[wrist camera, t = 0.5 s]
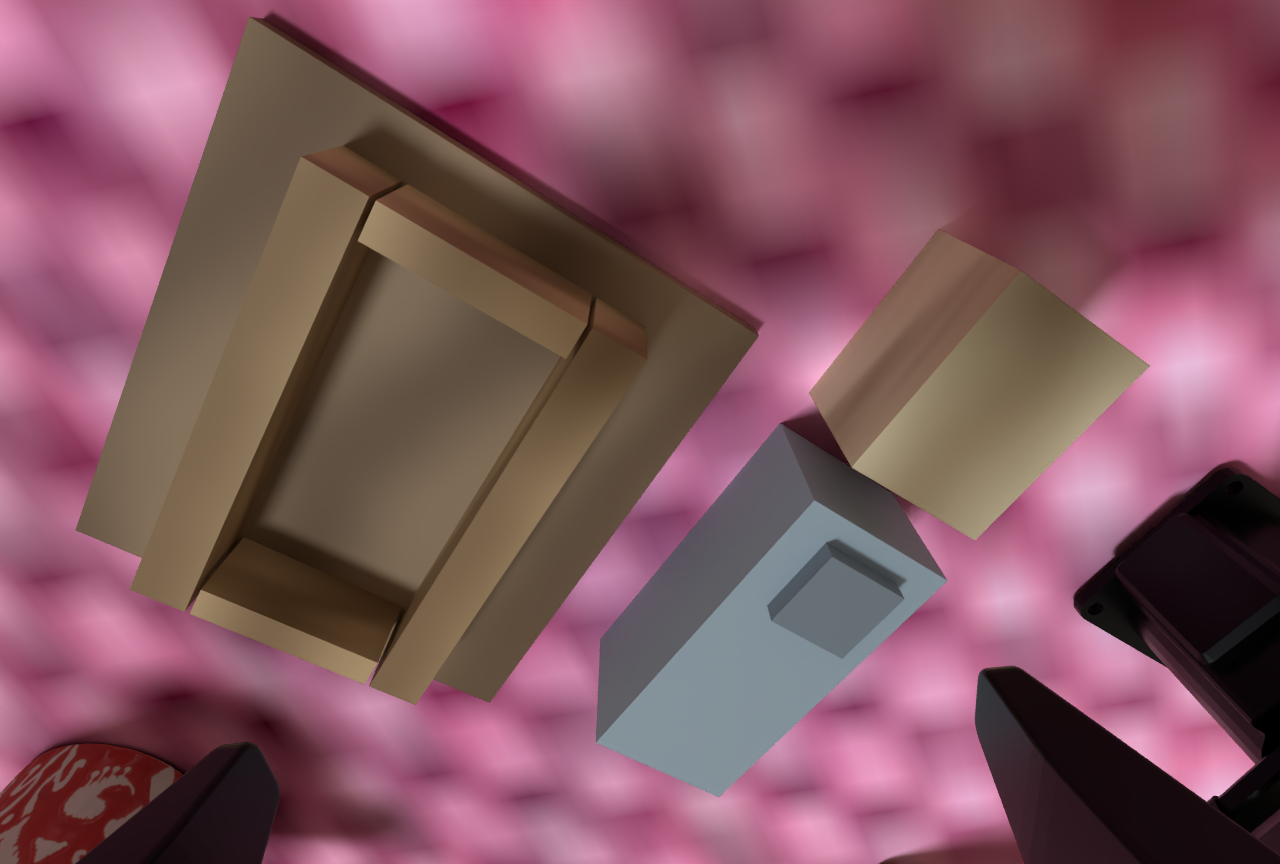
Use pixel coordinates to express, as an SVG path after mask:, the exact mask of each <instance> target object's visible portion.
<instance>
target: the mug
mask: <svg viewBox="0 0 1280 864" xmlns="http://www.w3.org/2000/svg"><path fill="white" fill-rule="evenodd" d="M182 775H183V774H182V773H180V772H179V771H177V770H176V769H174V768H173V767H171V766H170V765H168V764H166V763H164V762H162V761H160V760H158V759H156V758H154V757H151V756H149V755H146V754H144V753H141V752H138V751H135V750H132V749H128V748H123V747H118V746H112V745H105V744H76V745H68V746H63V747H59V748H55V749H52V750H50V751H48V752H46V753H44V754H42V755H40V756H39V757H37V758H36V759H34V760H33V761H32V762H31V763H30V764H28V765H27V766H26V767H25V768H24V769H23V770H22V771H21V772H20V773H19V774H18V775H17V776H16V777H15V778H14V779H13V780H12V781H11V782H10V783H9V784H8V785H7V786H6V787H5V788H4V790H3V791H2V792H1V793H0V864H75V863H76V862H77V861H79V860H80V859H81V858H82V857H84V856H85V855H86V854H87V853H88V852H90V851H91V850H92V849H93V848H95V847H96V846H97V845H98V844H99V843H101V842H102V841H103V840H104V839H105V838H107V837H108V836H109V835H110V834H112V833H113V832H114V831H115V830H116V829H118V828H119V827H120V826H121V825H123V824H124V823H125V822H126V821H127V820H129V819H130V818H131V817H132V816H134V815H135V814H136V813H137V812H138V811H140V810H141V809H142V808H143V807H145V806H146V805H147V804H148V803H149V802H151V801H152V800H153V799H154V798H155V797H157V796H158V795H159V794H160V793H162V792H163V791H164V790H165V789H166V788H168V787H169V786H170V785H171V784H173V783H174V782H175V781H176V780H177V779H179V778H180V777H181V776H182Z"/></svg>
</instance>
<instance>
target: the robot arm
mask: <svg viewBox="0 0 1280 864" xmlns="http://www.w3.org/2000/svg"><path fill="white" fill-rule="evenodd" d="M1231 483H1232V484H1231ZM1229 484H1231V485H1230V486H1228V485H1229ZM1093 604H1094V605H1093ZM1091 605H1092V606H1091ZM1074 608H1075V609H1076V610H1077V612H1078V613H1079V614H1080V615H1081V616H1082V617H1083V618H1084V619H1085V620H1087V621H1089V622H1090V623H1092V624H1094V625H1095V626H1097V627H1099V628H1101V629H1102V630H1104V631H1106V632H1107V633H1109V634H1111V635H1112V636H1114V637H1116V638H1118V639H1119V640H1121V641H1123V642H1124V643H1126V644H1128V645H1130V646H1131V647H1133V648H1135V649H1136V650H1138V651H1140V652H1141V653H1143V654H1145V655H1147V656H1148V657H1150V658H1152V659H1153V660H1155V661H1157V662H1159V663H1160V664H1162V665H1164V666H1165V667H1167V668H1168V669H1169V670H1170V671H1171V672H1172V673H1173V674H1174V675H1175V676H1176V678H1177V679H1178V680H1179V681H1180V682H1181V683H1182V684H1183V685H1184V686H1185V687H1186V689H1187V690H1188V691H1189V692H1190V693H1191V694H1192V695H1193V696H1194V697H1195V698H1196V700H1197V701H1198V702H1199V703H1200V704H1201V705H1202V706H1203V707H1204V708H1205V709H1206V711H1207V712H1208V713H1209V714H1210V715H1211V716H1212V717H1213V718H1214V719H1215V720H1216V722H1217V723H1218V724H1219V725H1220V726H1221V727H1222V728H1223V729H1224V730H1225V731H1226V733H1227V734H1228V735H1229V736H1230V737H1231V738H1232V739H1233V740H1234V741H1235V742H1236V744H1237V745H1238V746H1239V747H1240V748H1241V749H1242V750H1243V751H1244V752H1245V753H1246V755H1247V756H1248V757H1249V758H1250V759H1251V760H1252V761H1253V762H1254V763H1255V764H1256V765H1254V766H1253V767H1252V768H1251V769H1250V770H1249V771H1248V772H1246V773H1245V774H1244V775H1243V776H1242V777H1241V778H1240V779H1239V780H1237V781H1236V782H1235V783H1234V784H1233V785H1232V786H1231V787H1229V788H1228V789H1227V790H1226V791H1225V792H1224V793H1223V794H1222V795H1220V796H1219V797H1218V796H1213V797H1212V798H1211V799H1210V800H1209V801H1207V802H1206V801H1205V800H1203V799H1202V798H1201V797H1199V796H1198V795H1197V794H1195V793H1194V792H1192V791H1191V790H1190V789H1188V788H1187V787H1185V786H1184V785H1183V784H1181V783H1180V782H1178V781H1177V780H1176V779H1174V778H1173V777H1172V776H1170V775H1169V774H1167V773H1166V772H1165V771H1163V770H1162V769H1160V768H1159V767H1158V766H1156V765H1155V764H1153V763H1152V762H1151V761H1149V760H1148V759H1147V758H1145V757H1144V756H1142V755H1141V754H1140V753H1138V752H1137V751H1135V750H1134V749H1133V748H1131V747H1130V746H1128V745H1127V744H1126V743H1124V742H1123V741H1121V740H1120V739H1119V738H1117V737H1116V736H1115V735H1113V734H1112V733H1110V732H1109V731H1108V730H1106V729H1105V728H1103V727H1102V726H1101V725H1099V724H1098V723H1096V722H1095V721H1094V720H1092V719H1091V718H1090V717H1088V716H1087V715H1085V714H1084V713H1083V712H1081V711H1080V710H1078V709H1077V708H1076V707H1074V706H1073V705H1071V704H1070V703H1069V702H1067V701H1066V700H1065V699H1063V698H1062V697H1060V696H1059V695H1058V694H1056V693H1055V692H1053V691H1052V690H1051V689H1049V688H1048V687H1046V686H1045V685H1044V684H1042V683H1041V682H1039V681H1038V680H1037V679H1035V678H1034V677H1033V676H1031V675H1030V674H1028V673H1027V672H1026V671H1024V670H1023V669H1021V668H1019V667H1016V666H1003V667H993V668H985V669H983V670H982V671H981V672H980V673H979V676H978V685H977V697H976V710H975V725H976V731H977V735H978V738H979V741H980V744H981V747H982V749H983V752H984V755H985V758H986V760H987V763H988V766H989V768H990V771H991V774H992V777H993V779H994V782H995V785H996V788H997V790H998V793H999V796H1000V798H1001V801H1002V804H1003V807H1004V809H1005V812H1006V815H1007V818H1008V820H1009V823H1010V826H1011V829H1012V831H1013V834H1014V837H1015V839H1016V842H1017V845H1018V848H1019V850H1020V853H1021V855H1022V858H1023V861H1024V863H1025V864H1280V498H1278V497H1277V496H1275V495H1274V494H1273V493H1271V492H1270V491H1268V490H1267V489H1266V488H1264V487H1263V486H1261V485H1260V484H1259V483H1257V482H1256V481H1255V480H1253V479H1252V478H1250V477H1249V476H1247V475H1246V474H1244V473H1243V472H1241V471H1240V470H1238V469H1235V468H1225V469H1222V470H1220V471H1218V472H1217V473H1216V474H1214V475H1213V476H1212V477H1211V478H1210V479H1209V480H1207V481H1206V482H1205V483H1204V484H1203V485H1202V486H1201V487H1199V488H1198V489H1197V490H1196V491H1195V492H1194V493H1193V494H1192V495H1190V496H1189V497H1188V498H1187V499H1186V500H1185V501H1184V502H1183V503H1181V504H1180V505H1179V506H1178V507H1177V508H1176V509H1175V510H1174V511H1172V512H1171V513H1170V514H1169V515H1168V516H1167V517H1166V518H1165V519H1163V520H1162V521H1161V522H1160V523H1159V524H1158V525H1157V526H1156V527H1154V528H1153V529H1152V530H1151V531H1150V532H1149V533H1148V534H1147V535H1145V536H1144V537H1143V538H1142V539H1141V540H1140V541H1139V542H1138V543H1136V544H1135V545H1134V546H1133V547H1132V548H1131V549H1130V550H1129V551H1127V552H1126V553H1125V554H1124V555H1123V556H1122V557H1121V558H1120V559H1118V560H1117V561H1116V562H1115V563H1114V564H1113V565H1112V566H1111V567H1109V568H1108V569H1107V570H1106V571H1105V572H1104V573H1103V574H1102V575H1100V576H1099V577H1098V578H1097V579H1096V580H1095V581H1094V582H1093V583H1091V584H1090V585H1089V586H1088V587H1087V588H1086V589H1085V590H1084V591H1082V592H1081V593H1080V594H1079V595H1078V596H1077V597H1076V599H1075V601H1074ZM279 797H280V792H279V785H278V782H277V780H276V778H275V776H274V775H273V773H272V771H271V769H270V767H269V765H268V763H267V762H266V760H265V758H264V756H263V754H262V752H261V750H260V749H259V747H258V746H257V745H255V744H254V743H252V742H243V743H233V744H225V745H222V746H219V747H217V748H216V749H214V750H213V751H212V752H210V753H209V754H208V755H207V756H205V757H204V758H203V759H202V760H201V761H199V762H198V763H197V764H196V765H194V766H193V767H192V768H191V769H190V770H188V771H187V772H186V773H185V774H184V775H182V776H181V777H180V778H179V779H177V780H176V781H175V782H174V783H173V784H171V785H170V786H169V787H168V788H166V789H165V790H164V791H163V792H162V793H160V794H159V795H158V796H157V797H155V798H154V799H153V800H152V801H151V802H149V803H148V804H147V805H146V806H145V807H143V808H142V809H141V810H140V811H138V812H137V813H136V814H135V815H134V816H132V817H131V818H130V819H129V820H127V821H126V822H125V823H124V824H123V825H121V826H120V827H119V828H118V829H116V830H115V831H114V832H113V833H112V834H110V835H109V836H108V837H107V838H105V839H104V840H103V841H102V842H101V843H99V844H98V845H97V846H96V847H95V848H93V849H92V850H91V851H90V852H88V853H87V854H86V855H85V856H84V857H82V858H81V859H80V860H79V861H77V862H76V863H75V864H262V860H263V857H264V853H265V850H266V847H267V843H268V840H269V836H270V833H271V829H272V826H273V822H274V819H275V815H276V812H277V808H278V804H279Z"/></svg>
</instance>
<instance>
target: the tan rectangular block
mask: <svg viewBox="0 0 1280 864" xmlns="http://www.w3.org/2000/svg"><path fill="white" fill-rule="evenodd" d="M1149 366H1150V365H1149V364H1147V363H1146V362H1144V361H1143V360H1142V359H1140V358H1139V357H1138V356H1136V355H1135V354H1134V353H1132V352H1131V351H1130V350H1128V349H1127V348H1126V347H1124V346H1123V345H1121V344H1120V343H1119V342H1117V341H1116V340H1115V339H1113V338H1112V337H1111V336H1109V335H1108V334H1107V333H1105V332H1104V331H1103V330H1101V329H1100V328H1098V327H1097V326H1096V325H1094V324H1093V323H1092V322H1090V321H1089V320H1088V319H1086V318H1085V317H1084V316H1082V315H1081V314H1080V313H1078V312H1077V311H1075V310H1074V309H1073V308H1071V307H1070V306H1069V305H1067V304H1066V303H1065V302H1063V301H1062V300H1061V299H1059V298H1058V297H1057V296H1055V295H1054V294H1052V293H1051V292H1050V291H1048V290H1047V289H1046V288H1044V287H1043V286H1042V285H1040V284H1039V283H1038V282H1036V281H1035V280H1034V279H1032V278H1031V277H1029V276H1028V275H1027V274H1025V273H1024V272H1023V271H1021V270H1019V269H1017V268H1015V267H1013V266H1011V265H1009V264H1007V263H1005V262H1003V261H1001V260H999V259H997V258H995V257H993V256H991V255H989V254H987V253H985V252H983V251H981V250H979V249H977V248H975V247H973V246H971V245H969V244H967V243H965V242H963V241H961V240H959V239H957V238H955V237H953V236H951V235H949V234H947V233H945V232H943V231H941V230H939V229H938V231H937V232H936V233H935V234H934V236H933V237H932V238H931V239H930V241H929V242H928V243H927V245H926V246H925V247H924V248H923V250H922V251H921V252H920V253H919V255H918V256H917V257H916V258H915V260H914V261H913V262H912V263H911V265H910V266H909V267H908V268H907V270H906V271H905V272H904V273H903V275H902V276H901V277H900V279H899V280H898V281H897V282H896V284H895V285H894V286H893V287H892V289H891V290H890V291H889V292H888V294H887V295H886V296H885V297H884V299H883V300H882V301H881V302H880V304H879V305H878V306H877V307H876V309H875V310H874V311H873V312H872V314H871V315H870V316H869V318H868V319H867V320H866V321H865V323H864V324H863V325H862V326H861V328H860V329H859V330H858V331H857V333H856V334H855V335H854V336H853V338H852V339H851V340H850V341H849V343H848V344H847V345H846V346H845V348H844V349H843V350H842V352H841V353H840V354H839V355H838V357H837V358H836V359H835V360H834V362H833V363H832V364H831V365H830V367H829V368H828V369H827V370H826V372H825V373H824V374H823V375H822V377H821V378H820V379H819V380H818V382H817V383H816V384H815V386H814V387H813V388H812V389H811V391H810V392H809V394H810V396H811V397H812V399H813V401H814V403H815V404H816V406H817V408H818V410H819V411H820V413H821V415H822V417H823V418H824V420H825V422H826V424H827V425H828V427H829V429H830V431H831V432H832V434H833V436H834V438H835V439H836V441H837V443H838V445H839V446H840V448H841V450H842V452H843V453H844V455H845V457H846V459H847V460H848V462H849V464H850V466H851V467H852V468H853V469H855V470H857V471H858V472H860V473H862V474H864V475H865V476H867V477H869V478H870V479H872V480H874V481H875V482H877V483H879V484H880V485H882V486H884V487H885V488H887V489H889V490H891V491H892V492H894V493H896V494H897V495H899V496H901V497H902V498H904V499H906V500H907V501H909V502H911V503H913V504H914V505H916V506H918V507H919V508H921V509H923V510H924V511H926V512H928V513H929V514H931V515H933V516H934V517H936V518H938V519H940V520H941V521H943V522H945V523H946V524H948V525H950V526H951V527H953V528H955V529H956V530H958V531H960V532H962V533H963V534H965V535H967V536H968V537H970V538H972V539H973V540H976V539H977V538H978V537H979V536H980V535H981V534H982V533H983V532H984V531H985V530H986V529H987V528H988V527H989V526H990V525H991V524H992V523H993V522H994V521H995V520H996V519H997V518H998V517H999V516H1000V515H1001V514H1002V513H1003V512H1004V511H1005V510H1006V509H1007V508H1008V507H1009V506H1010V505H1011V504H1012V503H1013V502H1014V501H1015V500H1016V499H1017V498H1018V497H1019V496H1020V495H1021V494H1022V493H1023V492H1024V491H1025V490H1026V489H1027V488H1028V487H1029V486H1030V485H1031V484H1032V483H1033V482H1034V481H1035V480H1036V479H1037V478H1038V477H1039V476H1040V475H1041V474H1042V473H1043V472H1044V471H1045V470H1046V469H1047V468H1048V467H1049V466H1050V465H1051V464H1052V463H1053V462H1054V461H1055V460H1056V459H1057V458H1058V457H1059V456H1060V455H1061V454H1062V453H1063V452H1064V451H1065V450H1066V449H1067V448H1068V447H1069V446H1070V445H1071V444H1072V443H1073V442H1074V441H1075V440H1076V439H1077V438H1078V437H1079V436H1080V435H1081V434H1082V433H1083V432H1084V431H1085V430H1086V429H1087V428H1088V427H1089V426H1090V425H1091V424H1092V423H1093V422H1094V421H1095V420H1096V419H1097V418H1098V417H1099V416H1100V415H1101V414H1102V413H1103V412H1104V411H1105V410H1106V409H1107V408H1108V407H1109V406H1110V405H1111V404H1112V403H1113V402H1114V401H1115V400H1116V399H1117V398H1118V397H1119V396H1120V395H1121V394H1122V393H1123V392H1124V391H1125V390H1126V389H1127V388H1128V387H1129V386H1130V385H1131V384H1132V383H1133V382H1134V381H1135V380H1136V379H1137V378H1138V377H1139V376H1140V375H1141V374H1142V373H1143V372H1144V371H1145V370H1146V369H1147V368H1148V367H1149Z"/></svg>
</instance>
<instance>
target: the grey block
mask: <svg viewBox="0 0 1280 864" xmlns="http://www.w3.org/2000/svg"><path fill="white" fill-rule="evenodd" d="M946 582H947V579H946V577H945V576H944V574H943V573H942V571H941V570H940V568H939V566H938V565H937V563H936V562H935V560H934V558H933V557H932V555H931V554H930V552H929V551H928V549H927V547H926V546H925V544H924V543H923V541H922V540H921V538H920V536H919V535H918V533H917V532H916V530H915V528H914V527H913V525H912V524H911V522H910V521H909V519H908V517H907V516H906V514H905V513H904V511H903V510H902V508H901V506H900V505H899V503H898V502H897V500H896V498H895V497H894V495H893V494H892V493H891V492H889V491H887V490H886V489H884V488H883V487H881V486H880V485H878V484H876V483H875V482H873V481H872V480H870V479H868V478H867V477H865V476H864V475H862V474H861V473H859V472H857V471H856V470H854V469H853V468H851V467H849V466H848V465H846V464H845V463H843V462H841V461H840V460H838V459H837V458H835V457H834V456H832V455H830V454H829V453H827V452H826V451H824V450H822V449H821V448H819V447H818V446H816V445H815V444H813V443H811V442H810V441H808V440H807V439H805V438H803V437H802V436H800V435H799V434H797V433H796V432H794V431H792V430H791V429H789V428H788V427H786V426H784V425H783V424H781V423H780V424H779V425H778V426H777V428H776V429H775V430H774V431H773V432H772V434H771V435H770V436H769V437H768V438H767V440H766V441H765V442H764V443H763V444H762V446H761V447H760V448H759V449H758V450H757V452H756V453H755V454H754V455H753V456H752V458H751V459H750V460H749V461H748V462H747V464H746V465H745V466H744V467H743V468H742V470H741V471H740V472H739V473H738V474H737V476H736V477H735V478H734V479H733V481H732V482H731V483H730V484H729V485H728V487H727V488H726V489H725V490H724V491H723V493H722V494H721V495H720V496H719V497H718V499H717V500H716V501H715V502H714V503H713V505H712V506H711V507H710V508H709V509H708V511H707V512H706V513H705V514H704V515H703V517H702V518H701V519H700V520H699V521H698V523H697V524H696V525H695V526H694V527H693V529H692V530H691V531H690V532H689V533H688V535H687V536H686V537H685V538H684V539H683V541H682V542H681V543H680V544H679V545H678V547H677V548H676V549H675V550H674V551H673V553H672V554H671V555H670V556H669V557H668V559H667V560H666V561H665V562H664V563H663V565H662V566H661V567H660V568H659V569H658V571H657V572H656V573H655V574H654V575H653V577H652V578H651V579H650V580H649V581H648V583H647V584H646V585H645V586H644V587H643V589H642V590H641V591H640V592H639V593H638V595H637V596H636V597H635V598H634V599H633V601H632V602H631V603H630V604H629V605H628V607H627V608H626V609H625V610H624V611H623V613H622V614H621V615H620V616H619V617H618V619H617V620H616V621H615V622H614V624H613V625H612V626H611V627H610V628H609V630H608V631H607V632H606V633H605V634H604V636H603V637H602V638H601V639H600V662H599V684H598V707H597V729H596V743H598V744H600V745H602V746H604V747H607V748H609V749H611V750H613V751H616V752H618V753H620V754H622V755H625V756H627V757H629V758H632V759H634V760H636V761H638V762H641V763H643V764H645V765H647V766H650V767H652V768H654V769H656V770H659V771H661V772H663V773H665V774H668V775H670V776H672V777H674V778H677V779H679V780H681V781H684V782H686V783H688V784H690V785H693V786H695V787H697V788H699V789H702V790H704V791H706V792H708V793H711V794H713V795H715V796H717V797H719V796H720V795H721V794H723V793H724V792H725V791H726V790H727V789H728V788H729V787H730V786H731V785H732V784H733V783H734V782H735V781H736V780H737V779H738V778H739V777H740V776H742V775H743V774H744V773H745V772H746V771H747V770H748V769H749V768H750V767H751V766H752V765H753V764H754V763H755V762H756V761H757V760H758V759H760V758H761V757H762V756H763V755H764V754H765V753H766V752H767V751H768V750H769V749H770V748H771V747H772V746H773V745H774V744H775V743H776V742H778V741H779V740H780V739H781V738H782V737H783V736H784V735H785V734H786V733H787V732H788V731H789V730H790V729H791V728H792V727H793V726H794V725H795V724H797V723H798V722H799V721H800V720H801V719H802V718H803V717H804V716H805V715H806V714H807V713H808V712H809V711H810V710H811V709H812V708H813V707H815V706H816V705H817V704H818V703H819V702H820V701H821V700H822V699H823V698H824V697H825V696H826V695H827V694H828V693H829V692H830V691H831V690H832V689H834V688H835V687H836V686H837V685H838V684H839V683H840V682H841V681H842V680H843V679H844V678H845V677H846V676H847V675H848V674H849V673H850V672H852V671H853V670H854V669H855V668H856V667H857V666H858V665H859V664H860V663H861V662H862V661H863V660H864V659H865V658H866V657H867V656H868V655H870V654H871V653H872V652H873V651H874V650H875V649H876V648H877V647H878V646H879V645H880V644H881V643H882V642H883V641H884V640H885V639H886V638H887V637H889V636H890V635H891V634H892V633H893V632H894V631H895V630H896V629H897V628H898V627H899V626H900V625H901V624H902V623H903V622H904V621H905V620H907V619H908V618H909V617H910V616H911V615H912V614H913V613H914V612H915V611H916V610H917V609H918V608H919V607H920V606H921V605H922V604H923V603H924V602H926V601H927V600H928V599H929V598H930V597H931V596H932V595H933V594H934V593H935V592H936V591H937V590H938V589H939V588H940V587H941V586H942V585H944V584H945V583H946Z"/></svg>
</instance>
